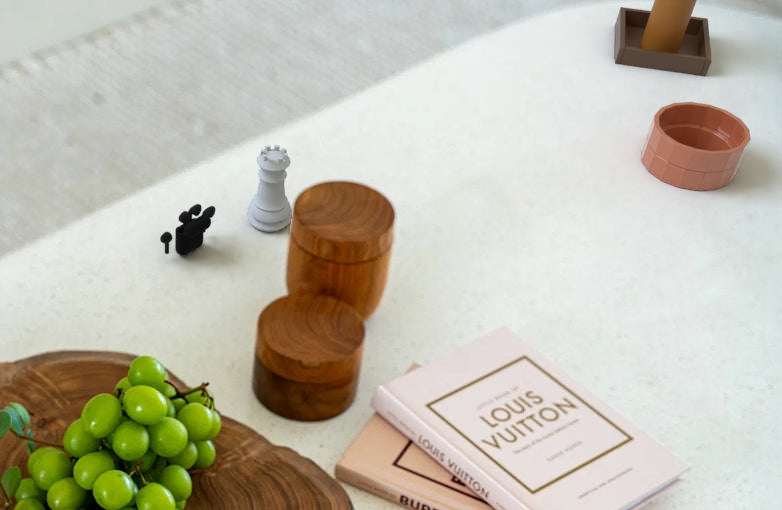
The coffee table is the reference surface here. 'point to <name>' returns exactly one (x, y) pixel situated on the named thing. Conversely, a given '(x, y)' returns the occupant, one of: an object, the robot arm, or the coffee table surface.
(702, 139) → the bowl
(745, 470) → the coffee table surface
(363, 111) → the coffee table surface
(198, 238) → the wireless earbuds
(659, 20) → the bottle
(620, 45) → the tray
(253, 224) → the rook chess piece
